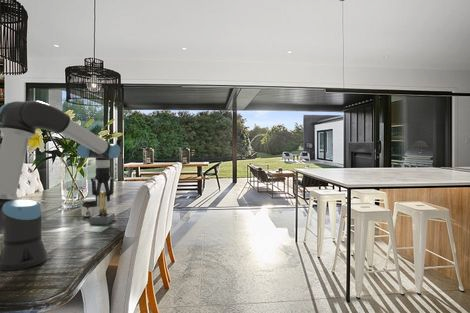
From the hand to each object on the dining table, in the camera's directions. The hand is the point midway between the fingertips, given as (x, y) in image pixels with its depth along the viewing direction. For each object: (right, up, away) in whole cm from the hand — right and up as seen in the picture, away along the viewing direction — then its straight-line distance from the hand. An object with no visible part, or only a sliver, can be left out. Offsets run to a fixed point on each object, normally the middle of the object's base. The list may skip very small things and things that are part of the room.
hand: (103, 206), depth 165 cm
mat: (+4, -10, -15) cm, 18 cm away
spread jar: (-12, -9, +14) cm, 21 cm away
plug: (0, -5, 0) cm, 5 cm away
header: (0, -9, 0) cm, 9 cm away
